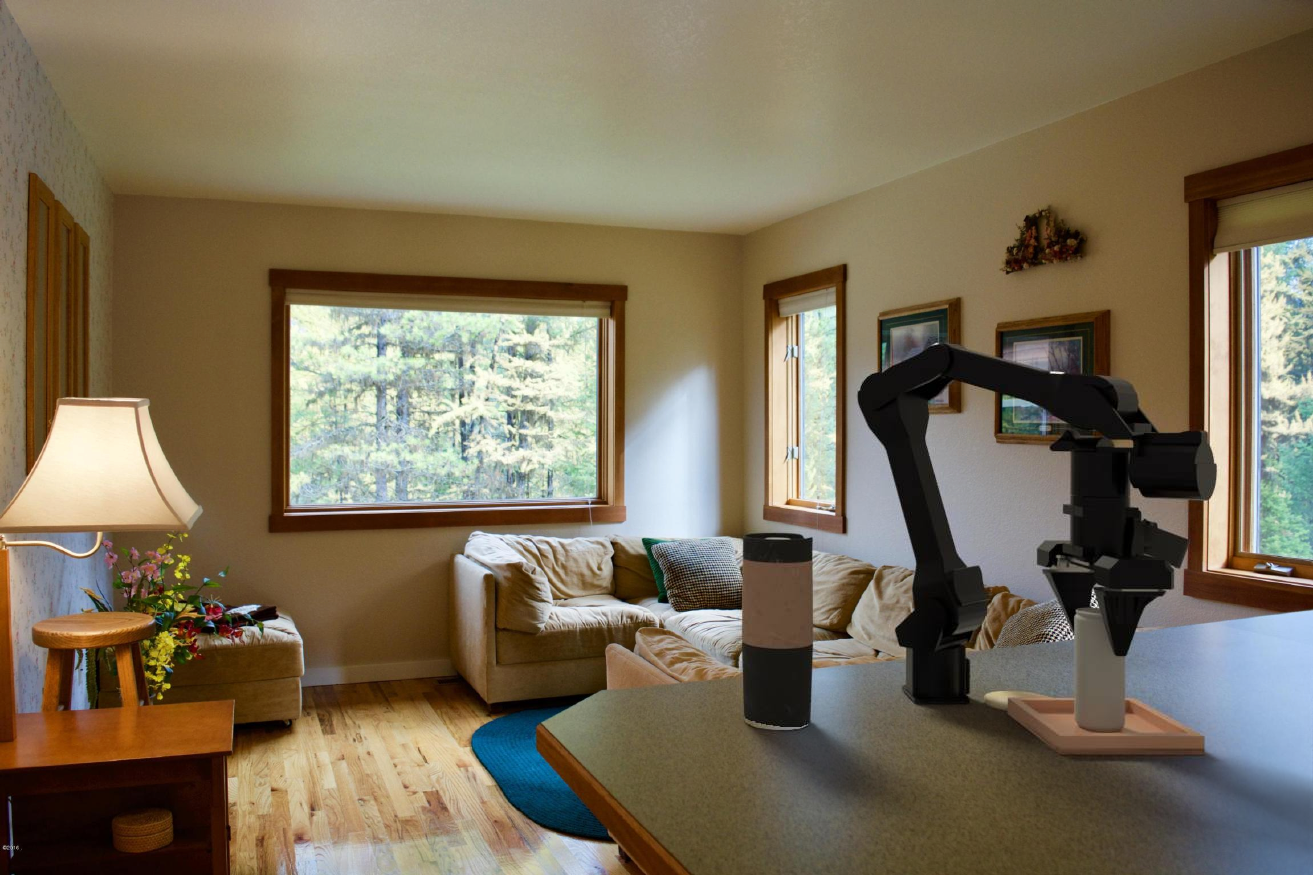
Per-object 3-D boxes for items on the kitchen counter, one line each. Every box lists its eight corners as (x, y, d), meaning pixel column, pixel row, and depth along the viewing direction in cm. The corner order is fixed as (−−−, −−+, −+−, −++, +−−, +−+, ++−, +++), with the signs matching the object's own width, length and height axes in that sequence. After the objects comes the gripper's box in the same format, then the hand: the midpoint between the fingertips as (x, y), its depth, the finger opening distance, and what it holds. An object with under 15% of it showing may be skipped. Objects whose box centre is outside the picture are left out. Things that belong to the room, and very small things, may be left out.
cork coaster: (998, 713, 109) (998, 709, 109) (974, 694, 117) (974, 690, 117) (1070, 713, 109) (1070, 709, 109) (1041, 694, 117) (1041, 690, 117)
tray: (1060, 754, 95) (1060, 735, 95) (1007, 713, 109) (1007, 697, 109) (1204, 754, 95) (1204, 736, 95) (1133, 713, 109) (1133, 697, 109)
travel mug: (730, 725, 104) (730, 537, 104) (757, 708, 111) (757, 531, 111) (798, 735, 101) (799, 540, 101) (822, 717, 107) (823, 534, 107)
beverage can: (1119, 736, 99) (1119, 617, 99) (1068, 727, 102) (1069, 612, 102) (1129, 725, 103) (1129, 610, 103) (1080, 717, 105) (1081, 605, 105)
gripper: (1230, 502, 93) (1229, 667, 93) (1133, 491, 111) (1132, 628, 111) (1112, 501, 93) (1111, 667, 93) (1035, 491, 111) (1034, 628, 111)
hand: (1099, 646), depth 102 cm, fingers open, 9 cm apart
